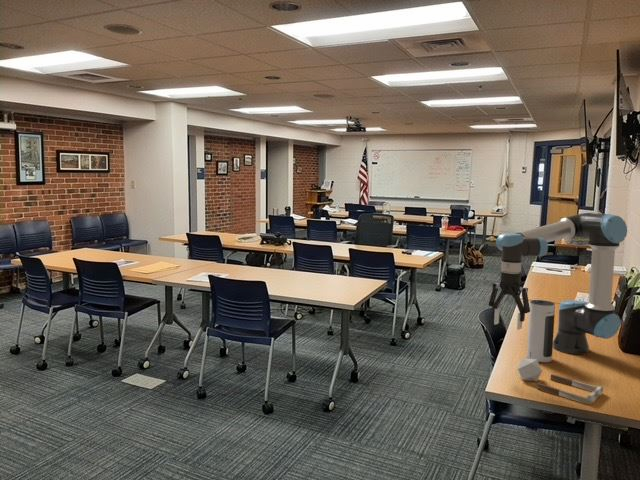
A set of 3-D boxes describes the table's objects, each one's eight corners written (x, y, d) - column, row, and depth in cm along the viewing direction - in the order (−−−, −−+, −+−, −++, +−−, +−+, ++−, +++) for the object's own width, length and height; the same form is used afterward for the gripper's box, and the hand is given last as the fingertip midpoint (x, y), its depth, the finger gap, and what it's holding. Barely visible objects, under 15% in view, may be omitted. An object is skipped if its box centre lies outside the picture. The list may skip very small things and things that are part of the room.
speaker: (536, 363, 212) (540, 304, 209) (520, 355, 222) (524, 299, 219) (557, 361, 215) (561, 303, 212) (540, 353, 225) (544, 298, 222)
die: (540, 378, 198) (526, 355, 201) (550, 375, 190) (536, 351, 193) (523, 387, 196) (509, 364, 200) (532, 384, 188) (518, 360, 191)
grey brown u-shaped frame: (551, 378, 196) (552, 371, 195) (602, 393, 182) (603, 385, 182) (536, 388, 186) (537, 381, 186) (589, 405, 173) (590, 397, 172)
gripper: (481, 269, 202) (478, 322, 205) (534, 277, 187) (530, 334, 189) (489, 267, 208) (487, 319, 210) (542, 274, 192) (538, 330, 195)
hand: (507, 326), depth 200 cm, fingers open, 9 cm apart
